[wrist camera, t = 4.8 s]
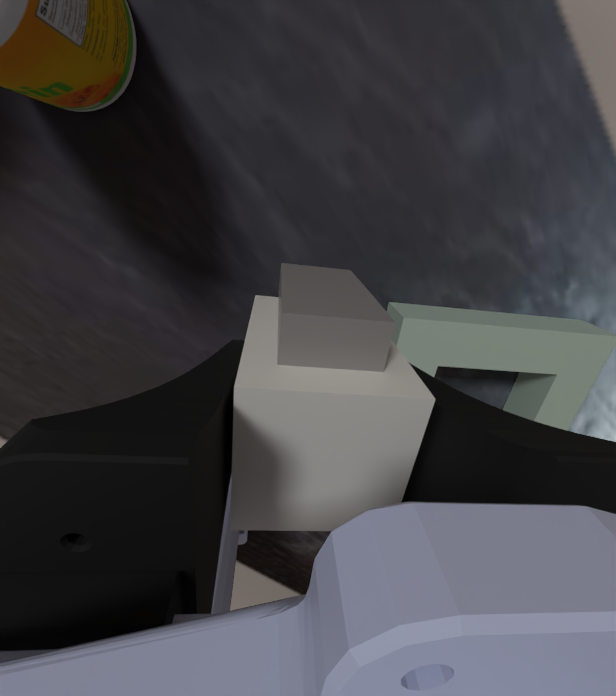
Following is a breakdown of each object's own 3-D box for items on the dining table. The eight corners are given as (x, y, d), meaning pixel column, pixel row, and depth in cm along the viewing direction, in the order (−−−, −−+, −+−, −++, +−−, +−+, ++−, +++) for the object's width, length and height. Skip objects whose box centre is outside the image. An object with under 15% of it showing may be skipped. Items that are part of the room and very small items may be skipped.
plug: (348, 397, 14) (391, 531, 8) (250, 391, 13) (230, 529, 8) (373, 272, 12) (453, 345, 6) (257, 260, 11) (235, 328, 6)
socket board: (502, 478, 25) (524, 507, 23) (349, 474, 24) (356, 504, 22) (581, 320, 20) (620, 336, 18) (388, 301, 18) (403, 317, 16)
